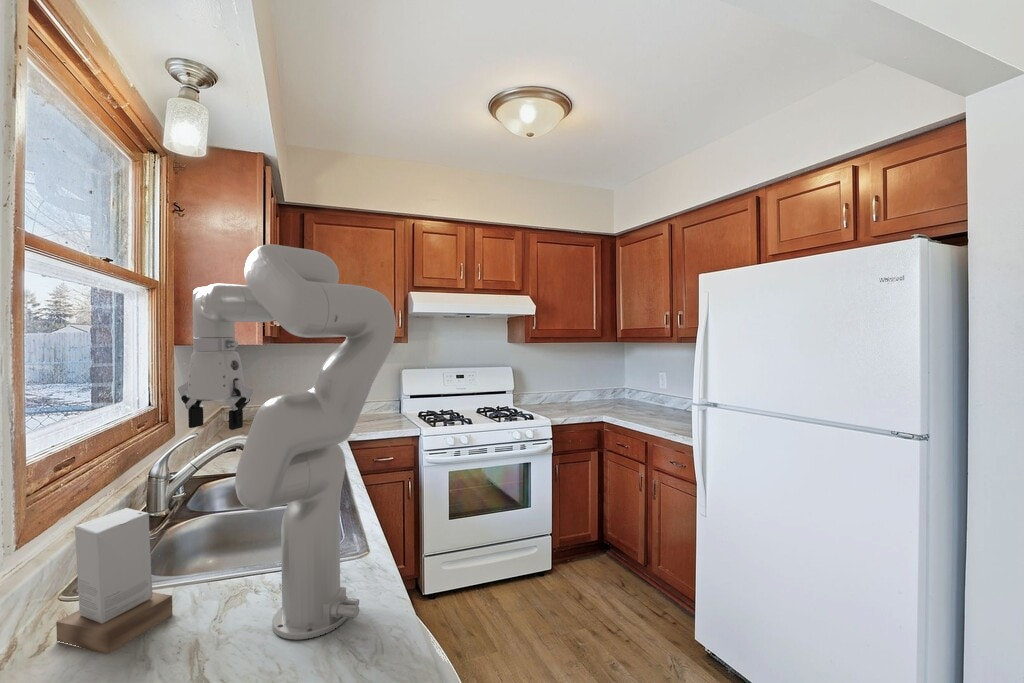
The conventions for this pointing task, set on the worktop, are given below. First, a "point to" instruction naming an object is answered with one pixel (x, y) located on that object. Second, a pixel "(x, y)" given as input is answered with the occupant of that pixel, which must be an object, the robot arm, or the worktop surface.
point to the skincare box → (113, 564)
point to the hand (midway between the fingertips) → (215, 427)
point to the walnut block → (114, 625)
